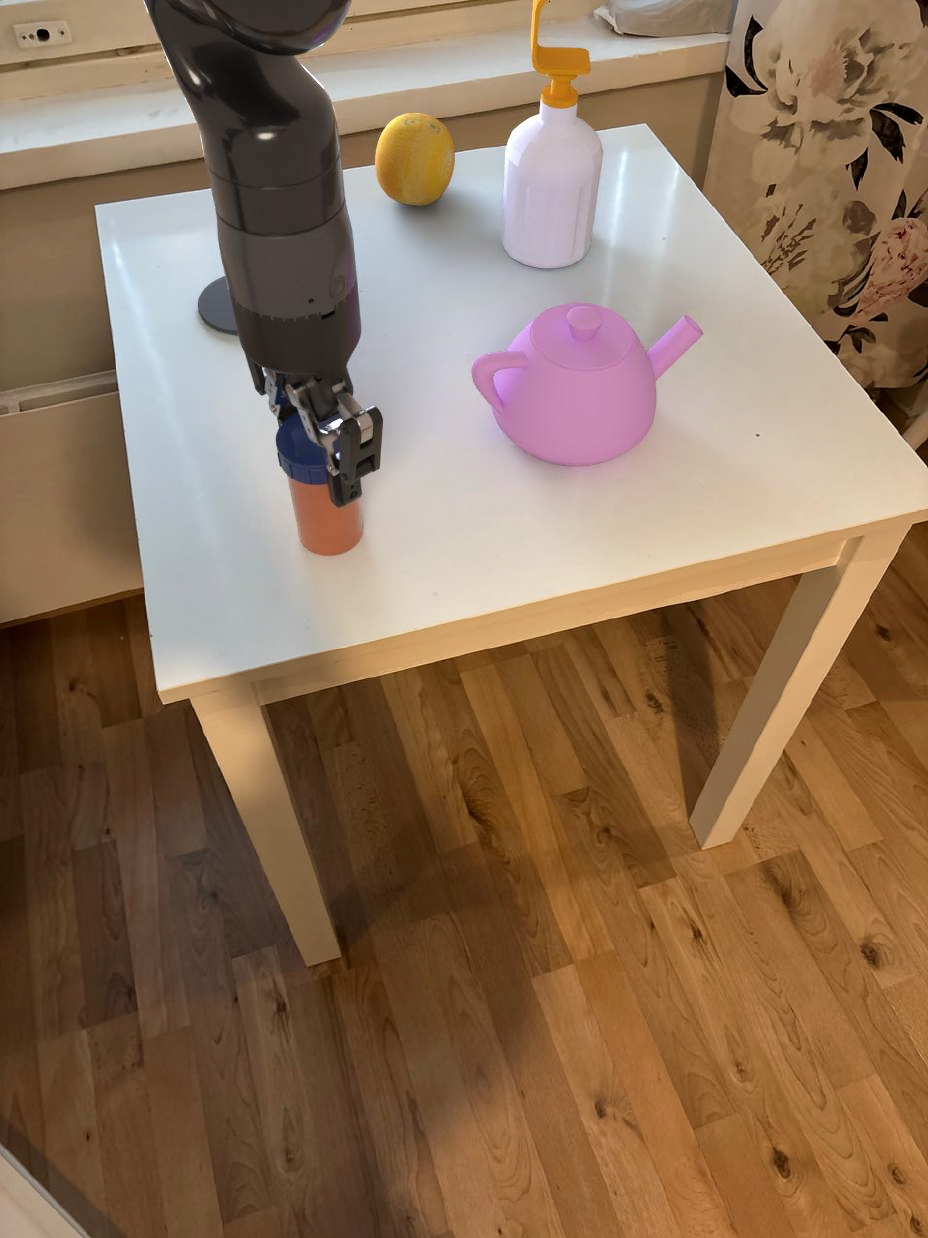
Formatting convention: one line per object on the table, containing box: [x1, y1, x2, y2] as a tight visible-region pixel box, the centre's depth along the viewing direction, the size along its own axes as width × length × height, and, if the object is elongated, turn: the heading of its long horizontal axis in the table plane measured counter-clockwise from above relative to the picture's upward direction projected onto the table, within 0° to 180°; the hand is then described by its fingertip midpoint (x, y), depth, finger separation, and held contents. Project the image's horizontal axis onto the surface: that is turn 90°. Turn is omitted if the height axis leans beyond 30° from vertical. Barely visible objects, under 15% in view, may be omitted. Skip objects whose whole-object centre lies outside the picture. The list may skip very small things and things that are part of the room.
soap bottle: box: [500, 0, 604, 269], centre depth 86 cm, size 9×9×25 cm
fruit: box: [374, 112, 456, 207], centre depth 97 cm, size 9×8×8 cm
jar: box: [286, 474, 364, 557], centre depth 70 cm, size 5×5×10 cm
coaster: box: [197, 275, 238, 336], centre depth 90 cm, size 9×9×1 cm
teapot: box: [470, 302, 705, 467], centre depth 77 cm, size 14×20×11 cm
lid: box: [275, 413, 341, 485], centre depth 67 cm, size 6×6×2 cm
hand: (322, 474), depth 69 cm, fingers closed on lid, 5 cm apart
